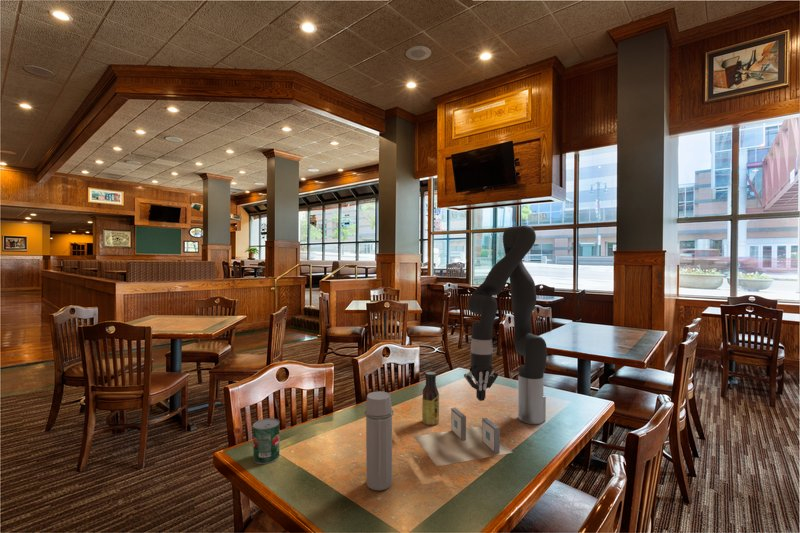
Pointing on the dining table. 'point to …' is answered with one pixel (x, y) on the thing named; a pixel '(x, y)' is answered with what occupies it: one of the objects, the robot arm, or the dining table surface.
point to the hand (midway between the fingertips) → (480, 399)
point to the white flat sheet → (457, 447)
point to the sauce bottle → (430, 401)
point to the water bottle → (379, 440)
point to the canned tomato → (266, 441)
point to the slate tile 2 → (491, 435)
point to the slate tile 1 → (458, 424)
